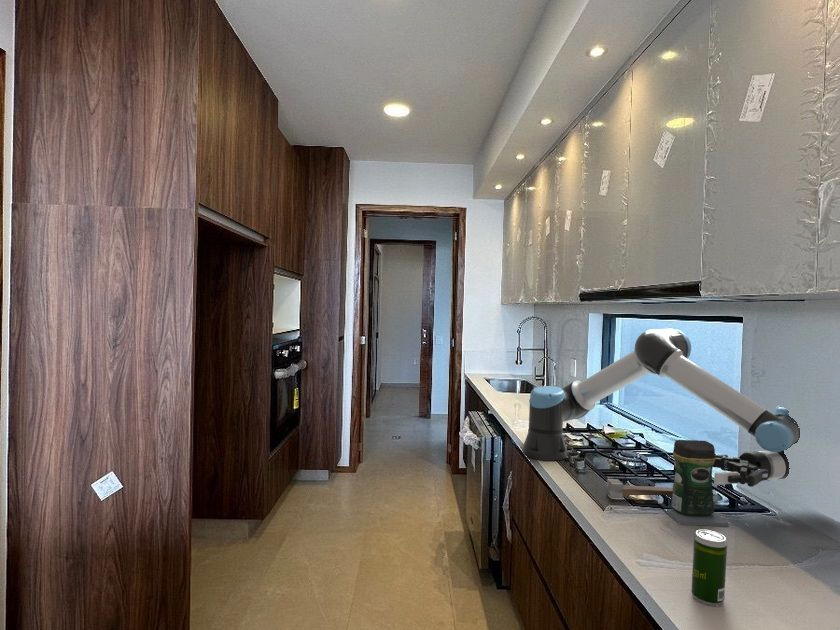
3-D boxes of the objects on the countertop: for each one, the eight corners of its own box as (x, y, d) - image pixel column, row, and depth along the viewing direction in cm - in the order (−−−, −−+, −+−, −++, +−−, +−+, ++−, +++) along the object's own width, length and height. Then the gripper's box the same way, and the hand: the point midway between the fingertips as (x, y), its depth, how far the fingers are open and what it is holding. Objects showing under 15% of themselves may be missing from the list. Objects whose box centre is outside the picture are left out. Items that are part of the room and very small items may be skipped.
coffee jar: (701, 506, 143) (705, 437, 142) (718, 518, 135) (722, 445, 134) (665, 504, 143) (669, 436, 142) (679, 517, 135) (683, 444, 134)
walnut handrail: (606, 494, 151) (607, 478, 151) (692, 498, 151) (693, 482, 151) (611, 499, 147) (612, 483, 147) (699, 503, 147) (700, 487, 147)
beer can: (728, 599, 99) (731, 536, 99) (717, 610, 96) (721, 544, 95) (697, 587, 103) (700, 526, 103) (686, 597, 99) (689, 534, 99)
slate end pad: (657, 503, 146) (657, 501, 145) (702, 505, 145) (702, 502, 145) (679, 524, 133) (679, 521, 132) (728, 526, 132) (728, 523, 132)
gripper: (803, 496, 132) (733, 502, 126) (722, 465, 156) (660, 468, 150) (805, 466, 131) (735, 471, 126) (723, 439, 155) (661, 442, 150)
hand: (694, 470), depth 138 cm, fingers open, 13 cm apart
